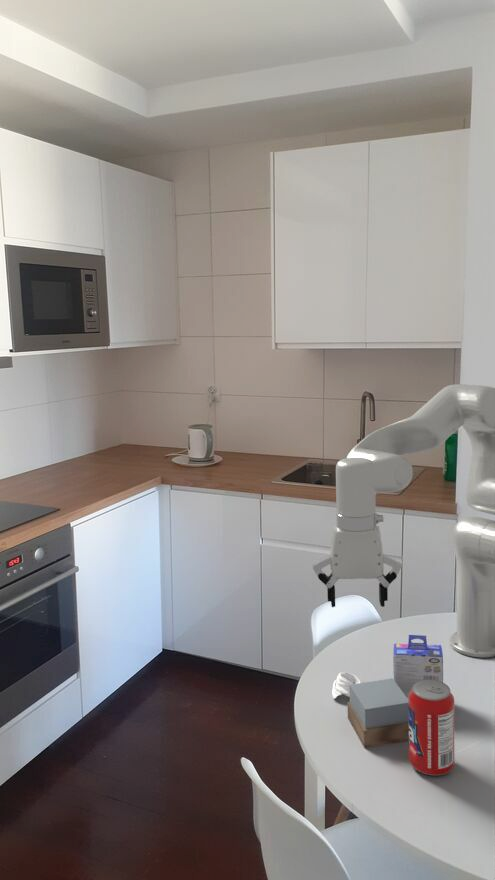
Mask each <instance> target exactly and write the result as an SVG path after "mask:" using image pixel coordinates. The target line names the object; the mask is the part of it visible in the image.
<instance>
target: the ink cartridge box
mask: <svg viewBox="0 0 495 880" xmlns="http://www.w3.org/2000/svg"><path fill="white" fill-rule="evenodd" d="M417 639H418V640H421V641H423V642H412V641H413V640H417ZM392 655H393V656H392V658H393V660H392V661H393V662H392V663H393V680H394V681H395V682H396V684H397V685H398V686H399V688H400V689H401V690H402V692H403V693H404V694H405V696H406V697H407V698H408V695H409V692H410V691H411V690H412V686H413V684H414V683H416V682H417V681H420V680H425V679H431V680H437V681H440V682H443V683H444V658H443V657H444V655H443V648H442V645H441V644H427V635H421V634H419V635H418V634H408V643H394V644H393V653H392Z"/></svg>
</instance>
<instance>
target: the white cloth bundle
mask: <svg viewBox="0 0 495 880" xmlns="http://www.w3.org/2000/svg"><path fill="white" fill-rule="evenodd" d="M358 683H362V682H361V680H360V679H359V677H357V676H356V675H355V674H353V673H349V672H347V671H343V672H339V673H338V675H337V677H336V680H334V681H333V684H332V689H331V696H332V698H333V700H337V697H338V696H342V695H343V696H347V697H348V698H350V685H351V684H358Z"/></svg>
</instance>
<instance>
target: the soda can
mask: <svg viewBox="0 0 495 880" xmlns="http://www.w3.org/2000/svg"><path fill="white" fill-rule="evenodd" d="M408 716H409V741H408V759H409V763H410V765H411V766H412V767H413V768H414V769H415V770H416V771H418V772H420V773H422V774H424V775H428V776H442V775H445V774H447V773H449V772H451V771H452V770H453V768H454V767H455V698H454V695H453V694H452V692H451V689H450V687H449V686H448V684H446V683H445V682H444V681H443V682H440V681H437V680H431V679H425V680H420V681H417V682H416V683H414V684H413V686H412V690H411V691H410V692H409V695H408Z"/></svg>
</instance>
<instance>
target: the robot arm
mask: <svg viewBox="0 0 495 880" xmlns="http://www.w3.org/2000/svg"><path fill="white" fill-rule="evenodd" d="M461 427H462V428H463V430H465V432H466V435H467V436H468V438H469V441H470V445H471V450H472V451H471V461H470V467H469V473H468V478H467V479H468V480H467V486H466V495H465V498H466V503H467V505H468V506H469V508H471V509H473V510H475V511H477V512H480V513H485V514H490V515H494V516H495V387H493V386H489V385H476V384H459V383H458V384H457V383H456V384H450V385H447V386H445V387H443V388H442V389H441V390H439V391H438V392H437V393H436V394H435V395H434V396H433V397H432V398H431V399H429V400H428V401H427V402H426V403H425V404H424V405H422V406H421V408H419V409H418V410H417V411H416V412H415V413H414V414H412V415H411V416H410V417H407V418H405V419H402V420H399V421H396V422H394V423H391V424H389V425H386V426H384V427H381V428H379V429H377V430H374V431H373V432H371V433H369V434H368V435H366V436H365V437H364V438H363V439H362V440H361V441H359V442H358V443H357V444H356V445H355V446H354V447H353V448H352V449H351V450H350V452H348V453H347V455H346V458H343V459H339V460H338V462H337V463H336V465H335V495H336V498H335V499H336V525H333V528H332V530H331V536H330V537H331V539H330V555H328V556H325V557H324V558H322V559H320V560H318V561H316V562H314V563H312V569H313V571H314V573H315V574H316V576H317V578H318V580H320V581H321V583H323V584H324V585H325V587H326V588H327V602H331V603H330V604H331V608H336V587H335V584H336V583H337V582H338V581H339V580H372V579H373V580H374V579H375V580H377V581H378V582H379V583H378V601H379V605H380V607H382V608H383V607H385V602H387V601H389V600H388V595H389V594H388V591H389V590H388V589H389V587H390V584H391V583H392V582H394V581H395V579H396V578H397V577H398V574H399V573H400V571H401V569H402V567H403V566H402V563H401V562H400V561H398V560H396V559H394V558H392V557H390V556H387V555H386V554H384V553H383V543H382V542H383V541H382V536H381V530H380V527H379V525H378V523H383V522H384V515H383V514H379V513H377V512H376V508H377V507H376V495H377V494H383V493H396V492H400V491H402V490H403V489H405V488H406V487H408V485H409V484H410V483H411V481H412V479H413V475H414V473H413V472H414V471H413V466H412V464H411V462H410V461H409V460H408V459H407V458H406V457H404V455H411V454H419V453H425V452H429V451H433V450H436V449H438V448H440V447H441V446H442V444H444V443H445V442H446V441H447V440H448V439H449V437H451V436H452V435H453V434H455V432H456V431H457V430H458V429H459V428H461ZM452 545H453V549H454V554H455V562H456V632H454V633H452V635H451V636H450V639H449V643H450V646H451V648H452V649H453V650H455V651H456V652H458V653H460V654H463V655H464V656H468V657H472V658H484V659H485V658H493V657H495V520H493V519H489V518H484V517H478V516H465V517H463V518H461V519H459V520H458V521H457V522H456V523H455V525H454V526H453V531H452ZM384 564H385V565H387V566H389V567H391V570H390V571H389V572H388V573H386V574H384ZM329 565H330V570H331V572H330V573H329V575H327V574H326V573H325V572H323V568H325V567H327V566H329Z"/></svg>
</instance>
